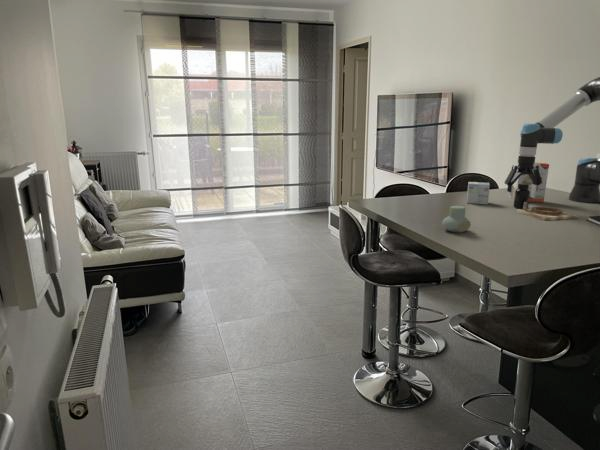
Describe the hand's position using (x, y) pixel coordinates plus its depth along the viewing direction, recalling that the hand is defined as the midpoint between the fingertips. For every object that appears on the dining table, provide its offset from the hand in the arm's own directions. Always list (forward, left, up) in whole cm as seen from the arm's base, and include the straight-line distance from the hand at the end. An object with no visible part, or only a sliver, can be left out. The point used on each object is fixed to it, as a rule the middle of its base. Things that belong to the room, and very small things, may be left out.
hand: (521, 198), depth 231 cm
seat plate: (0, +17, -5) cm, 18 cm away
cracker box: (-16, -13, -5) cm, 22 cm away
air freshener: (+58, +32, -5) cm, 66 cm away
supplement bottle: (0, 0, -5) cm, 5 cm away
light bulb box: (+14, -16, -5) cm, 22 cm away
